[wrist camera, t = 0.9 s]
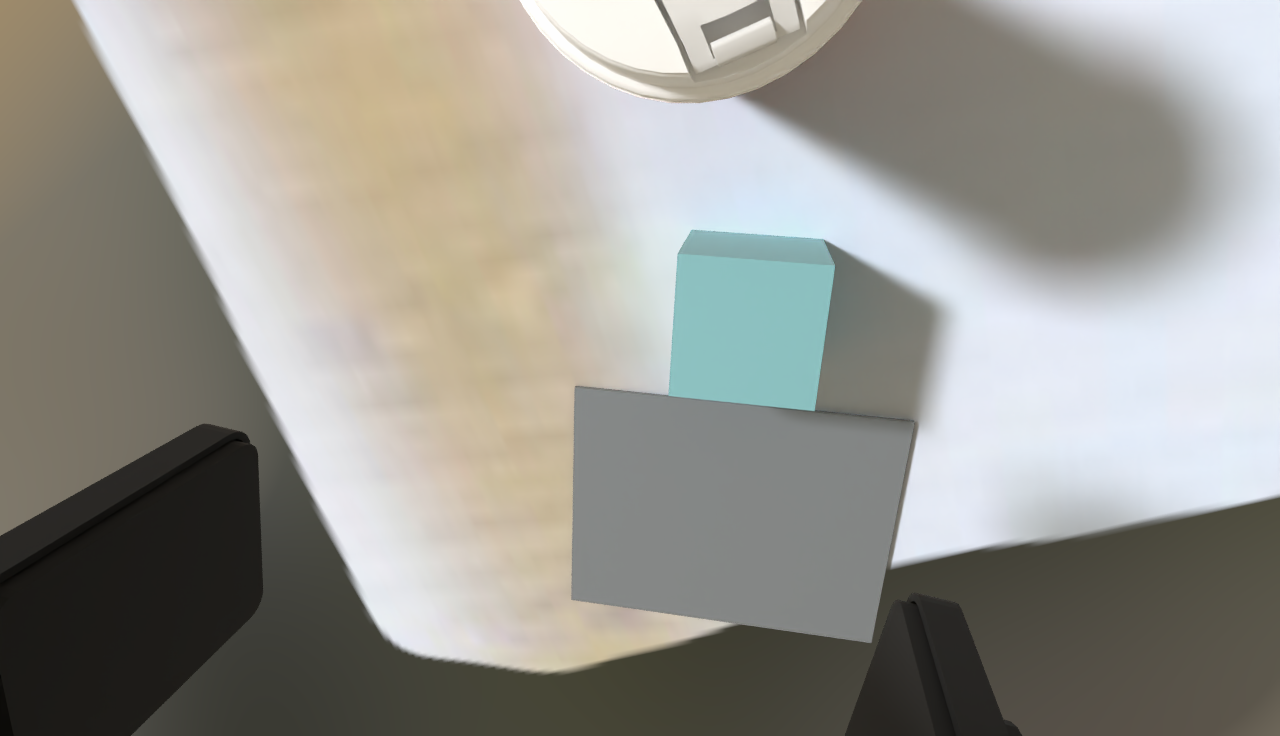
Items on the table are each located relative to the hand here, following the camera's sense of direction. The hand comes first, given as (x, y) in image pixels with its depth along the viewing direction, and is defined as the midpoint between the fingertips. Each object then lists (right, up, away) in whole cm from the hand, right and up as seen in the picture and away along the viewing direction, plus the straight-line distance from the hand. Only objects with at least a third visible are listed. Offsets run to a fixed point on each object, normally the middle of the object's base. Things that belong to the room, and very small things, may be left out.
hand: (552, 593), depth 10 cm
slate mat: (+5, -3, +22) cm, 22 cm away
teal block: (+6, +6, +18) cm, 20 cm away
